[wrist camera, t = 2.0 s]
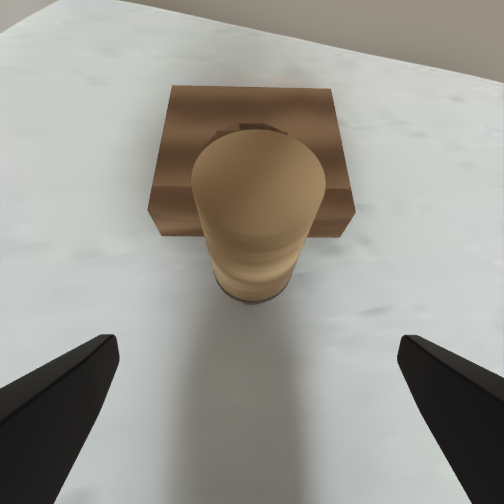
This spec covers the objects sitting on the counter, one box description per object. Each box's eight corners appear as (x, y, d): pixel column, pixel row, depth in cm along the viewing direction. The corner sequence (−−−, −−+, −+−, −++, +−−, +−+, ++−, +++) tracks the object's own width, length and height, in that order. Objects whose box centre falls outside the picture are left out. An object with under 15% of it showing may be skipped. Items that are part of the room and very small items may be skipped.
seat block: (339, 237, 25) (355, 212, 21) (161, 235, 25) (147, 209, 21) (321, 122, 31) (330, 88, 28) (180, 120, 31) (172, 85, 28)
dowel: (294, 271, 23) (344, 157, 12) (266, 329, 21) (292, 259, 10) (238, 244, 24) (233, 113, 13) (205, 297, 22) (162, 197, 11)
